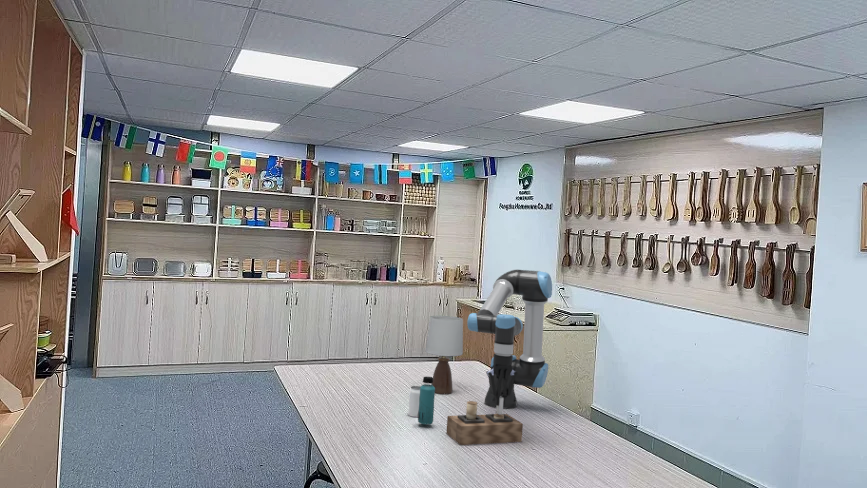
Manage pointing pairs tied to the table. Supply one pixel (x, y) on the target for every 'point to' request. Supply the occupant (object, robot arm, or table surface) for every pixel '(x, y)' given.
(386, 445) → the table surface
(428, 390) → the beverage bottle
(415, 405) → the can
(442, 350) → the lamp
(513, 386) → the robot arm
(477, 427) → the walnut block
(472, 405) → the peg
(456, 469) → the table surface
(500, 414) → the peg
